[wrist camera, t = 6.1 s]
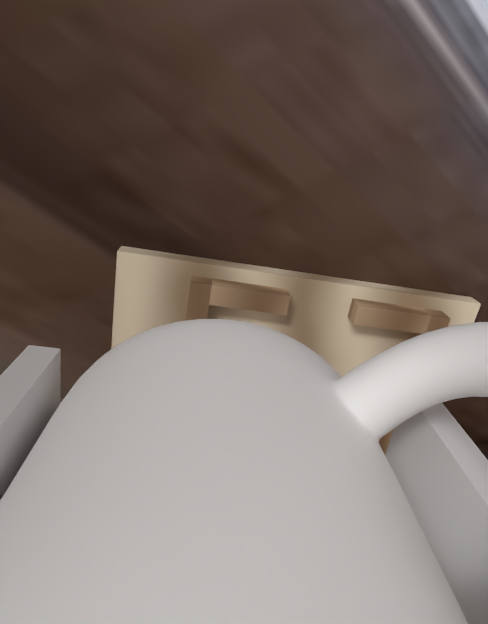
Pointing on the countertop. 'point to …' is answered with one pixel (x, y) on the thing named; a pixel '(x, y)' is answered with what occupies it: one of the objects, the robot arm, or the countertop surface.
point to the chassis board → (279, 305)
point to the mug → (231, 485)
